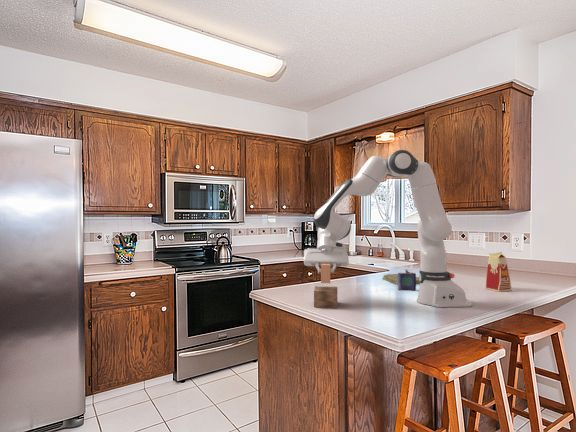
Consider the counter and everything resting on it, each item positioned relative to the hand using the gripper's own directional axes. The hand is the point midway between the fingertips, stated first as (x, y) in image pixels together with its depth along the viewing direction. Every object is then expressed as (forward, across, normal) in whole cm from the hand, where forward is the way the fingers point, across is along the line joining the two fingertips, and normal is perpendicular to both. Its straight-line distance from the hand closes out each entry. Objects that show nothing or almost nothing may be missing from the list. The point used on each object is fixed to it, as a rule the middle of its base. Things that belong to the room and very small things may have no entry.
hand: (325, 272), depth 161 cm
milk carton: (-20, +88, +40) cm, 99 cm away
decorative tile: (-32, +43, +53) cm, 76 cm away
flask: (-16, +41, +36) cm, 57 cm away
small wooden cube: (+10, 0, +10) cm, 14 cm away
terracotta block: (+3, 0, +4) cm, 4 cm away
